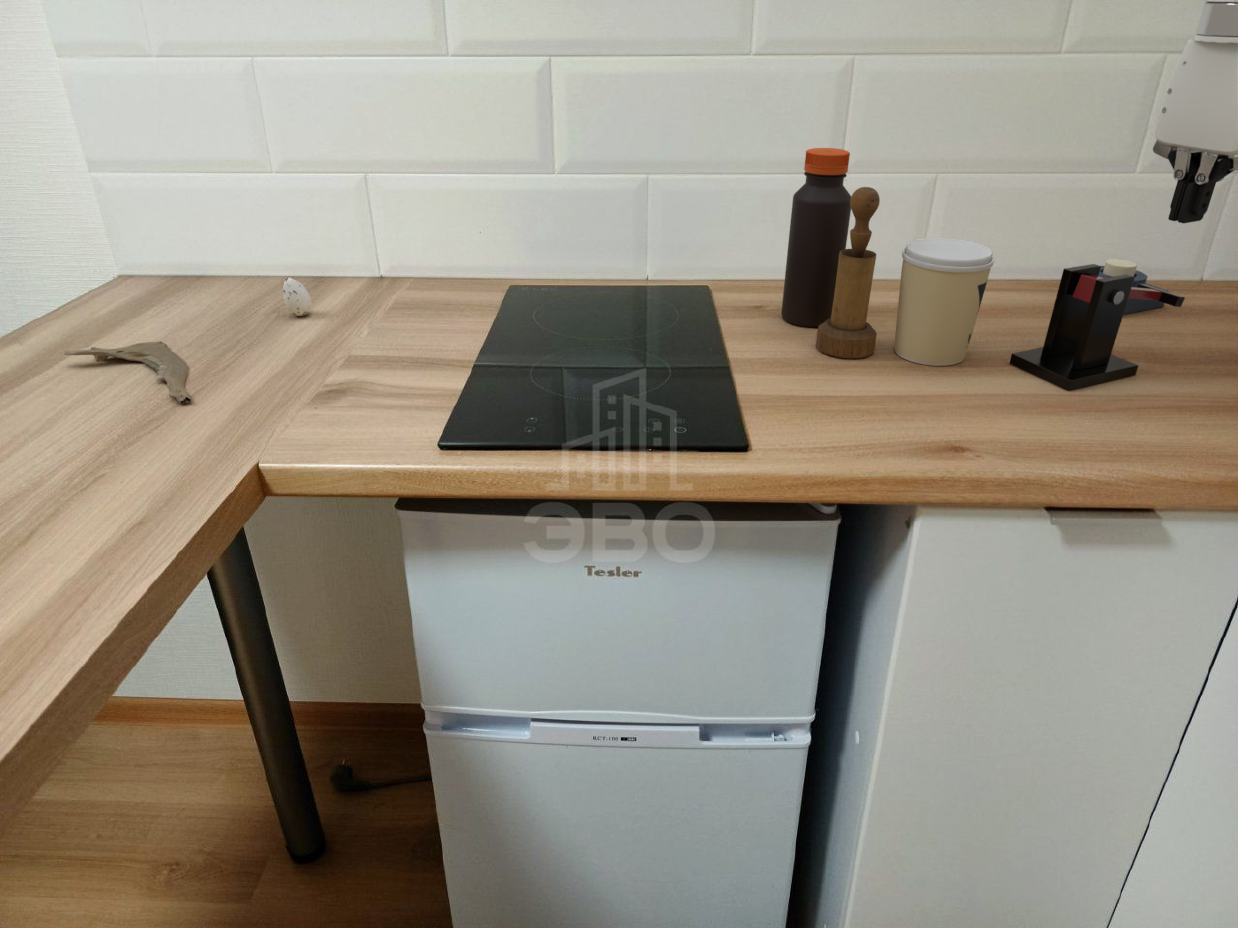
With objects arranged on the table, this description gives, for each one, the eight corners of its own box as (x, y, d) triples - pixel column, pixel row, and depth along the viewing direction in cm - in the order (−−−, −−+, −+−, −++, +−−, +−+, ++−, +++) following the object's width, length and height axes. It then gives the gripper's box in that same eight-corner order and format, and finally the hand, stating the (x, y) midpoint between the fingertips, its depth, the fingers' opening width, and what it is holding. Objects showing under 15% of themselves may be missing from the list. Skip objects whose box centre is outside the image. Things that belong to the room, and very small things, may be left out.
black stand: (1074, 349, 99) (1100, 257, 93) (1135, 375, 92) (1167, 277, 87) (1008, 363, 95) (1032, 268, 90) (1068, 391, 89) (1097, 290, 84)
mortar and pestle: (881, 345, 100) (906, 186, 91) (864, 363, 95) (890, 197, 86) (825, 334, 103) (845, 179, 94) (807, 352, 98) (826, 190, 89)
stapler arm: (1137, 299, 97) (1146, 278, 96) (1178, 313, 93) (1188, 291, 92) (1060, 293, 91) (1069, 270, 90) (1101, 307, 87) (1110, 284, 86)
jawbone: (142, 346, 101) (139, 329, 100) (261, 385, 92) (258, 367, 92) (65, 367, 94) (61, 349, 93) (185, 411, 85) (182, 391, 84)
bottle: (812, 332, 103) (833, 159, 94) (769, 317, 108) (785, 150, 98) (847, 319, 107) (870, 152, 97) (804, 306, 112) (822, 144, 102)
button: (1115, 270, 113) (1119, 257, 113) (1139, 278, 111) (1143, 264, 110) (1096, 273, 112) (1099, 260, 111) (1120, 281, 109) (1124, 268, 108)
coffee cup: (986, 368, 94) (1011, 260, 88) (902, 370, 94) (921, 261, 88) (953, 337, 102) (973, 236, 96) (875, 338, 102) (891, 237, 96)
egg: (314, 318, 108) (307, 279, 105) (287, 321, 107) (280, 282, 104) (312, 310, 110) (305, 272, 108) (286, 313, 109) (278, 274, 107)
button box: (1110, 289, 118) (1118, 260, 116) (1163, 306, 112) (1173, 276, 110) (1057, 298, 115) (1065, 269, 113) (1109, 317, 108) (1118, 286, 106)
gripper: (1355, 26, 76) (1280, 232, 85) (1196, 20, 88) (1145, 202, 97) (1302, 29, 74) (1230, 242, 83) (1146, 23, 86) (1098, 209, 95)
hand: (1185, 220), depth 90 cm, fingers closed
